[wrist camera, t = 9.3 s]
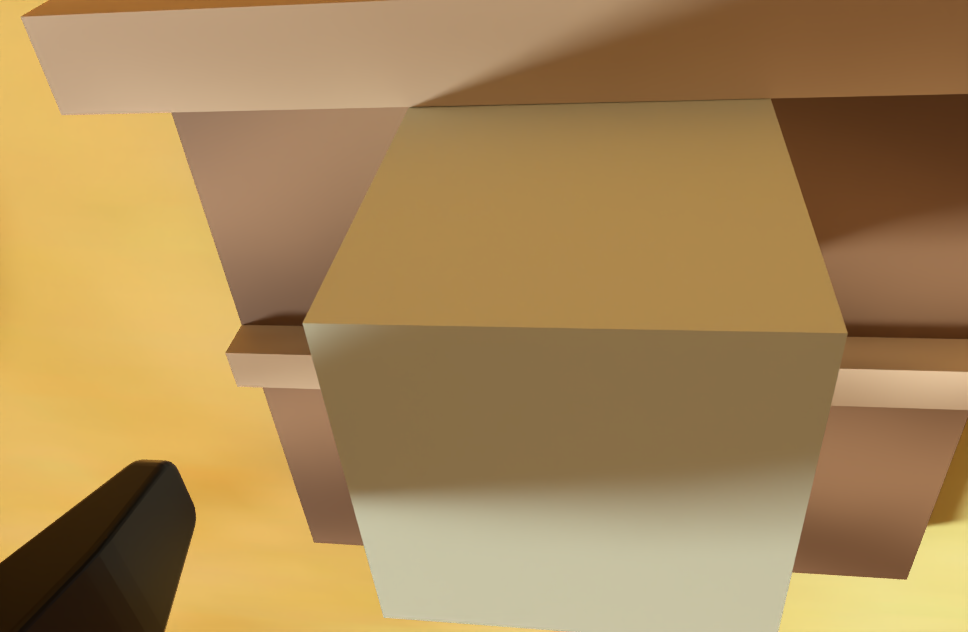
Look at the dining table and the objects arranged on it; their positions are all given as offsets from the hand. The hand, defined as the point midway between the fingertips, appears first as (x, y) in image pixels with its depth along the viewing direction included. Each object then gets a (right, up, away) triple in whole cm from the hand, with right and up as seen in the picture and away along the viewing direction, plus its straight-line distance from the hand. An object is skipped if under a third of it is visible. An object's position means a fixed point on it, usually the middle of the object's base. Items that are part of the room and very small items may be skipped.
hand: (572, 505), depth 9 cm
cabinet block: (+1, +5, +7) cm, 8 cm away
